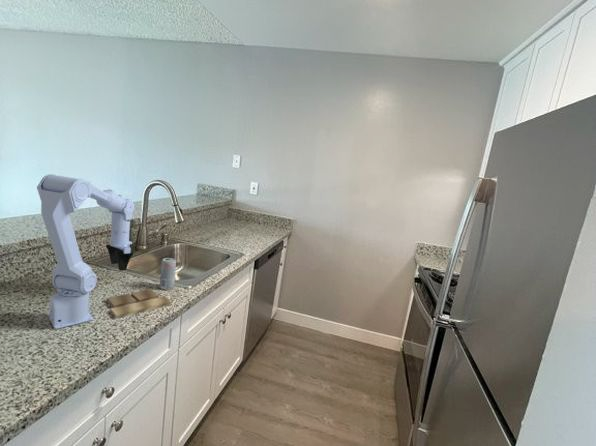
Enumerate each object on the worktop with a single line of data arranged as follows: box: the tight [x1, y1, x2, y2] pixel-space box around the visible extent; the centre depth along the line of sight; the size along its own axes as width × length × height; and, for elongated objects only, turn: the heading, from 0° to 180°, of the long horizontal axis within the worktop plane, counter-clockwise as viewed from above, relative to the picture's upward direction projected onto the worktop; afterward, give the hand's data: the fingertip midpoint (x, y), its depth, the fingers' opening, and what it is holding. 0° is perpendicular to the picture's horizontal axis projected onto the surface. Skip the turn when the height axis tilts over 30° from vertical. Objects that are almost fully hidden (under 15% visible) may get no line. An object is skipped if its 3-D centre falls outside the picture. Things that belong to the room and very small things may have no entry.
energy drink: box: [159, 257, 177, 291], centre depth 121 cm, size 5×5×12 cm
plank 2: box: [130, 288, 159, 303], centre depth 111 cm, size 7×7×1 cm
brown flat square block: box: [106, 293, 137, 308], centre depth 105 cm, size 7×7×1 cm
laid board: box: [109, 296, 172, 319], centre depth 104 cm, size 18×6×1 cm, turn 140°
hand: (118, 266), depth 110 cm, fingers open, 7 cm apart
